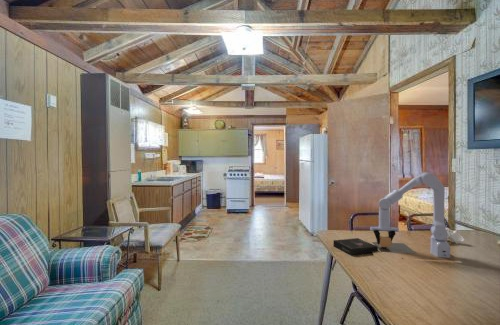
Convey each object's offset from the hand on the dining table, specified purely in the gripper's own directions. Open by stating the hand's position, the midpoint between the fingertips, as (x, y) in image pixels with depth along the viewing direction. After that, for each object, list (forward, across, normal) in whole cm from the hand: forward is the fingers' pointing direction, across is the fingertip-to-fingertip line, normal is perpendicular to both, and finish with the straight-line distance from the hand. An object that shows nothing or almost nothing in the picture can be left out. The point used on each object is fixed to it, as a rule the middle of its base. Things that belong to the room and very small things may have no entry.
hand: (384, 243), depth 162 cm
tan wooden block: (+1, 0, 0) cm, 1 cm away
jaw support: (+3, -42, -19) cm, 47 cm away
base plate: (+3, -5, -1) cm, 6 cm away
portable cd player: (+4, +16, +3) cm, 17 cm away
